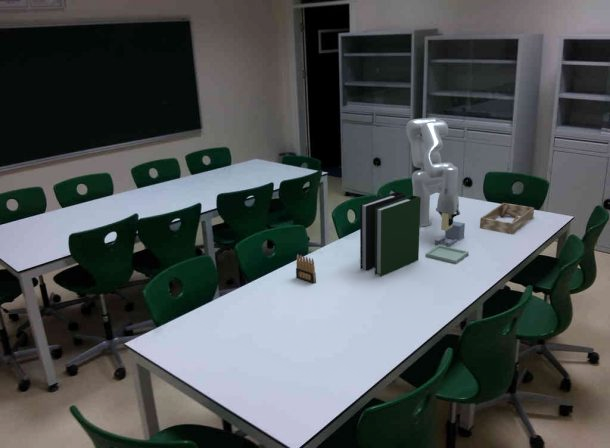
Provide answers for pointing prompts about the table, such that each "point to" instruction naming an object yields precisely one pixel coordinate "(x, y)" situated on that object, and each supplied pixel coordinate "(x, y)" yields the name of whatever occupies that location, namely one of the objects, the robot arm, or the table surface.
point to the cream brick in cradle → (445, 221)
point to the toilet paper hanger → (509, 213)
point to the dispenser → (453, 234)
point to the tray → (447, 254)
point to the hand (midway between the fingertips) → (447, 224)
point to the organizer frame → (506, 227)
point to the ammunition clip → (305, 269)
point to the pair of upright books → (389, 232)
